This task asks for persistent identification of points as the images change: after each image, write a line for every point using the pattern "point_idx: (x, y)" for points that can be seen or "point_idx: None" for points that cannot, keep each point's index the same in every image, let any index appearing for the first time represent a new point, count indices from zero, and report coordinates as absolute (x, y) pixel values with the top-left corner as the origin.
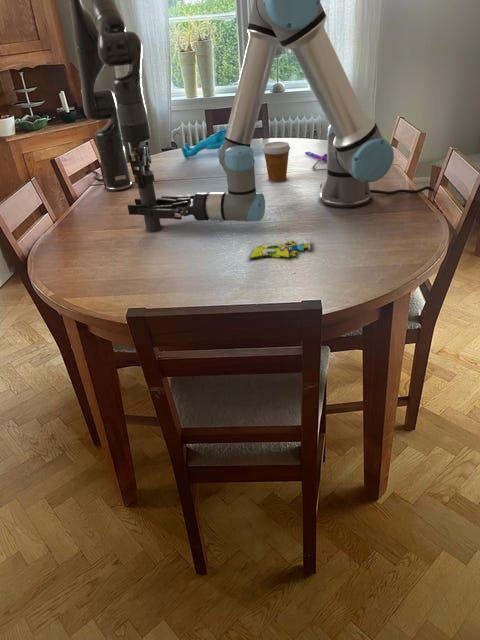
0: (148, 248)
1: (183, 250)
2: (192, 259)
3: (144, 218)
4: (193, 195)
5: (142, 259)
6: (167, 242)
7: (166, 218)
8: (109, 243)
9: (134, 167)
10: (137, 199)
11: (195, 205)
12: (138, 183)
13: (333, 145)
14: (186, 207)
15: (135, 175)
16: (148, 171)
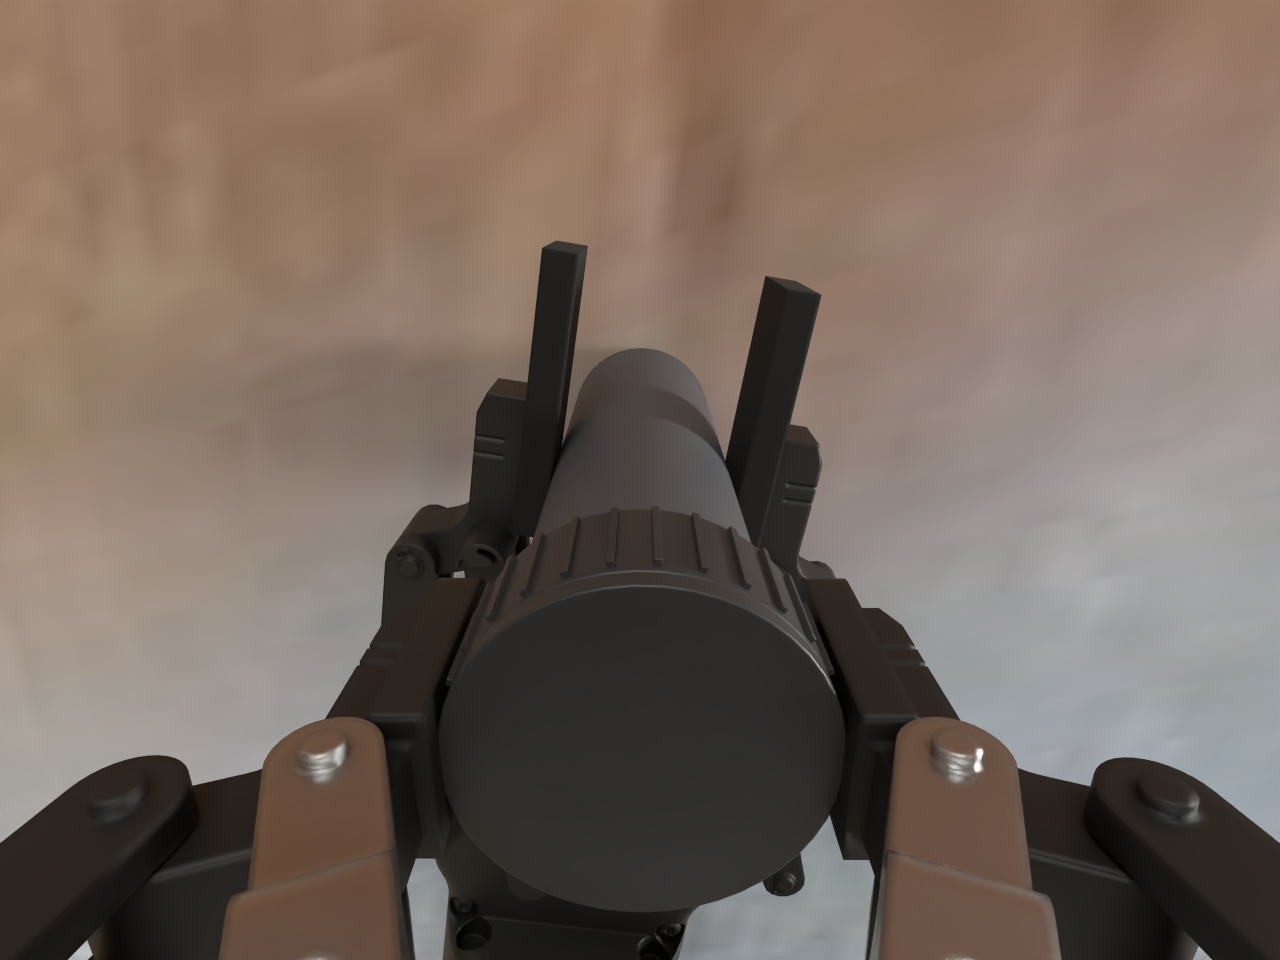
0: (240, 455)
1: (231, 696)
2: (108, 762)
3: (601, 385)
4: (781, 892)
5: (43, 454)
6: (358, 573)
7: None
8: (317, 44)
9: (248, 882)
10: (779, 332)
11: (448, 956)
12: (421, 623)
13: None
14: (454, 875)
15: (510, 638)
16: (767, 827)
